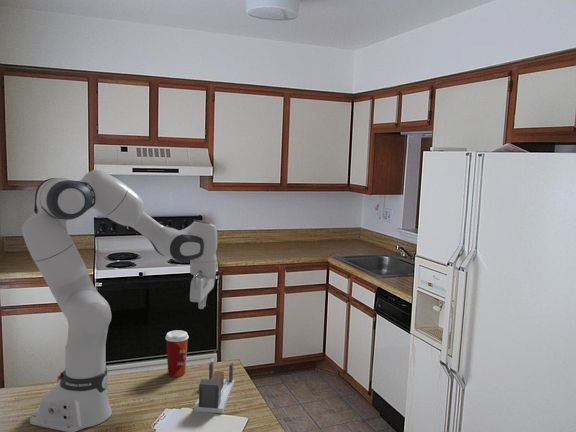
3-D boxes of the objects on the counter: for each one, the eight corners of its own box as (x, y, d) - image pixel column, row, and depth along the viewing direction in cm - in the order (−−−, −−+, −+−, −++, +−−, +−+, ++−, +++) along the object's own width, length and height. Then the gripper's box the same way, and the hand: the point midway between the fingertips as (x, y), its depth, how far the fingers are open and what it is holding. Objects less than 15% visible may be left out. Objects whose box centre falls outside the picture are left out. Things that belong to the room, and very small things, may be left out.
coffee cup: (185, 379, 175) (186, 338, 173) (162, 378, 175) (162, 337, 173) (190, 368, 183) (190, 329, 181) (168, 368, 183) (168, 329, 181)
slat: (205, 405, 154) (205, 390, 153) (214, 385, 168) (215, 371, 167) (214, 406, 154) (214, 391, 153) (223, 385, 167) (223, 371, 167)
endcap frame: (193, 411, 153) (194, 383, 152) (208, 382, 173) (209, 357, 172) (222, 413, 153) (223, 385, 151) (234, 383, 172) (234, 359, 171)
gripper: (205, 275, 157) (203, 317, 158) (218, 262, 177) (217, 300, 179) (185, 274, 157) (184, 316, 159) (201, 261, 177) (200, 298, 179)
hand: (201, 307), depth 169 cm, fingers closed
